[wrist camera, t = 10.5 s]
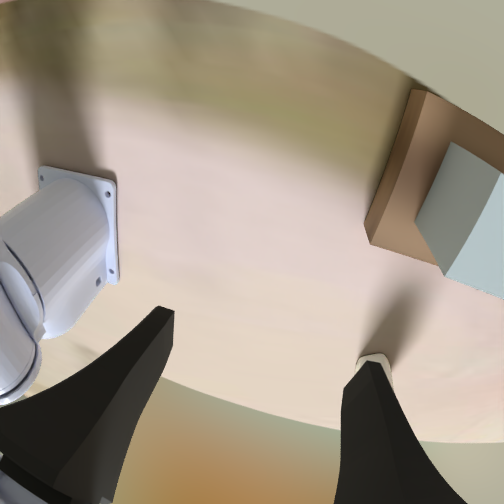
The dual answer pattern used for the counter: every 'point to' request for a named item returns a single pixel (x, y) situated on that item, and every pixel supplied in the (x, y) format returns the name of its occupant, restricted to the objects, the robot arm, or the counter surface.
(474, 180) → the grey cube
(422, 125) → the walnut block
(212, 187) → the counter surface
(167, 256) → the counter surface
